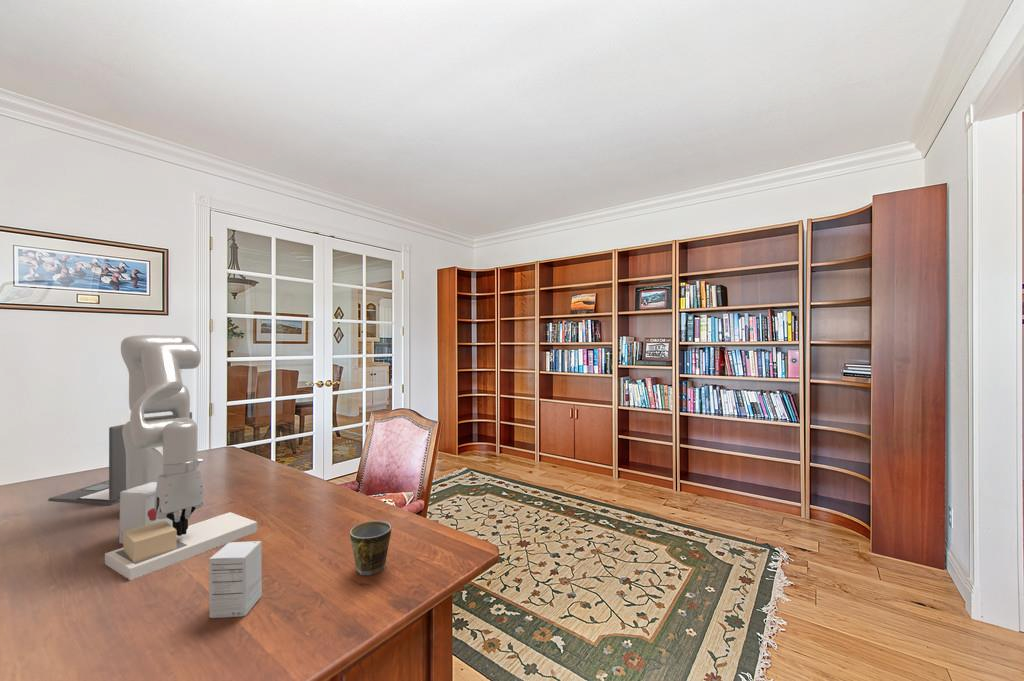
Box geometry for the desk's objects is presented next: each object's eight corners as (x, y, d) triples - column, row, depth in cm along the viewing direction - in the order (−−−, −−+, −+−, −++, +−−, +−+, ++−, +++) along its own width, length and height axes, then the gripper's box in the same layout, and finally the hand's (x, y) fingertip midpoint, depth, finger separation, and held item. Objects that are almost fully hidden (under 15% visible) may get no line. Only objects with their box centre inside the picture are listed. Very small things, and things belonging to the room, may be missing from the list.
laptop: (138, 475, 181) (138, 410, 181) (192, 478, 177) (193, 411, 177) (48, 503, 150) (48, 425, 150) (111, 508, 146) (111, 427, 146)
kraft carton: (123, 550, 110) (123, 531, 110) (164, 538, 117) (164, 520, 117) (134, 562, 104) (134, 542, 104) (176, 548, 111) (176, 529, 111)
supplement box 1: (143, 547, 118) (143, 494, 118) (118, 544, 119) (118, 491, 119) (175, 533, 126) (175, 483, 127) (151, 530, 128) (151, 481, 128)
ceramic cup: (359, 557, 112) (359, 520, 112) (396, 558, 112) (396, 520, 112) (337, 586, 99) (337, 543, 99) (379, 587, 99) (379, 544, 99)
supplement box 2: (228, 597, 95) (228, 541, 95) (263, 595, 95) (263, 540, 95) (207, 619, 87) (207, 558, 87) (245, 617, 88) (245, 556, 88)
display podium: (104, 565, 108) (105, 553, 108) (229, 521, 135) (229, 512, 135) (130, 581, 101) (130, 568, 101) (257, 531, 127) (257, 521, 127)
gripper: (203, 459, 125) (203, 521, 125) (140, 472, 112) (140, 542, 111) (217, 462, 121) (217, 526, 121) (153, 477, 108) (153, 548, 108)
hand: (180, 533), depth 116 cm, fingers closed
